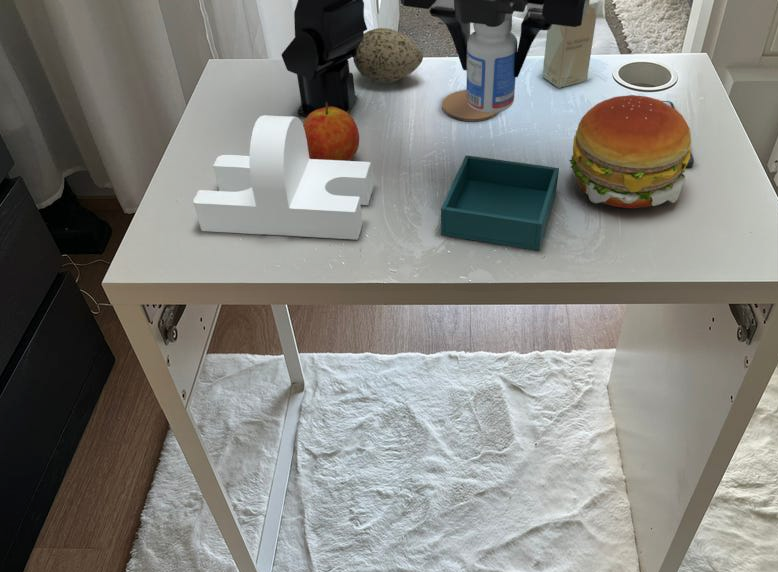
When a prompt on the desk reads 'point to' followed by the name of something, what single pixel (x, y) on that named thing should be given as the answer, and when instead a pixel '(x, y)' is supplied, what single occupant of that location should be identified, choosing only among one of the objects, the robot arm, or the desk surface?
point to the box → (570, 50)
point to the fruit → (331, 134)
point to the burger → (631, 152)
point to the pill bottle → (491, 67)
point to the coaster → (463, 108)
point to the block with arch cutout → (285, 188)
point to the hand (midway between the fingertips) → (490, 72)
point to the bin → (500, 202)
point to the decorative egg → (387, 56)
